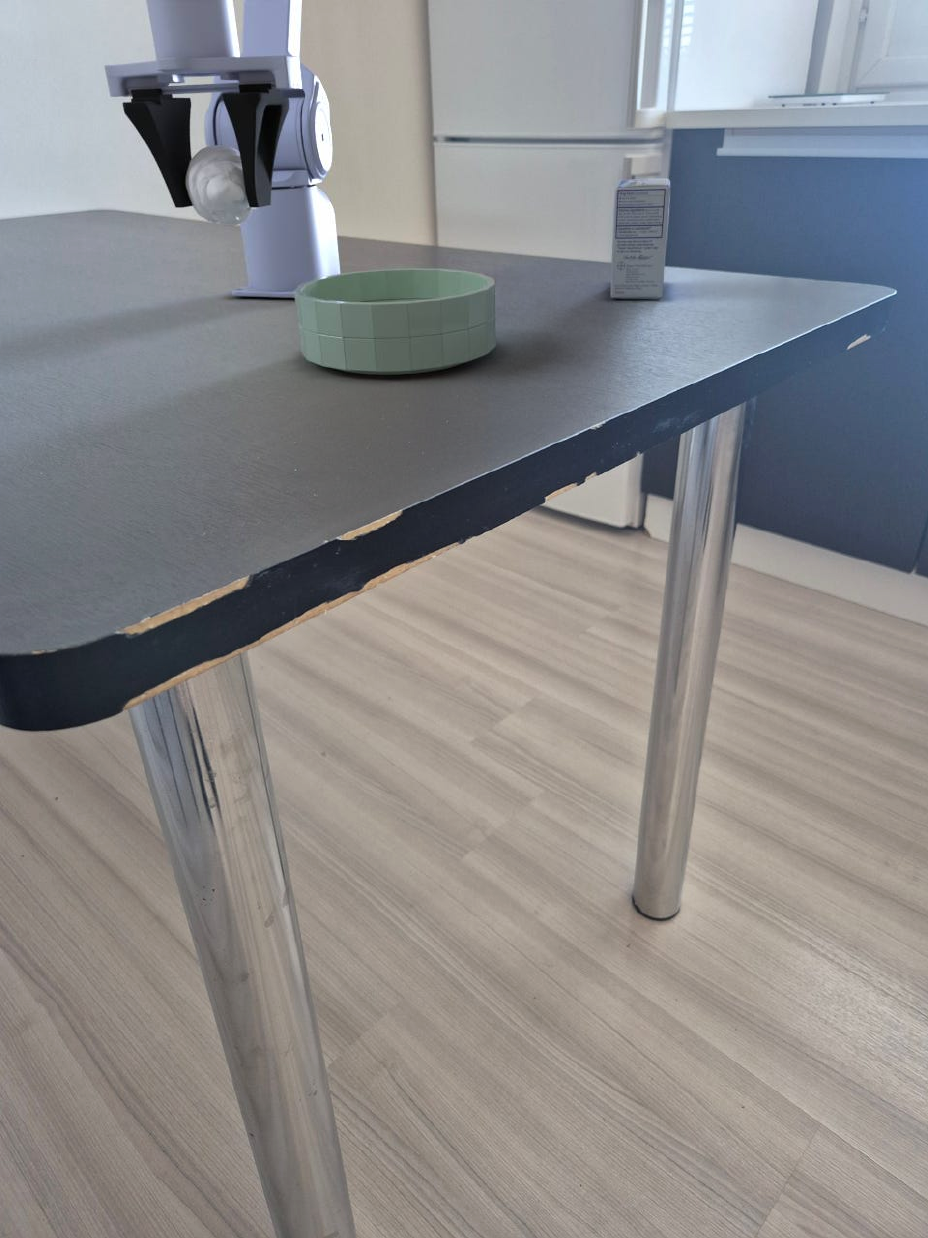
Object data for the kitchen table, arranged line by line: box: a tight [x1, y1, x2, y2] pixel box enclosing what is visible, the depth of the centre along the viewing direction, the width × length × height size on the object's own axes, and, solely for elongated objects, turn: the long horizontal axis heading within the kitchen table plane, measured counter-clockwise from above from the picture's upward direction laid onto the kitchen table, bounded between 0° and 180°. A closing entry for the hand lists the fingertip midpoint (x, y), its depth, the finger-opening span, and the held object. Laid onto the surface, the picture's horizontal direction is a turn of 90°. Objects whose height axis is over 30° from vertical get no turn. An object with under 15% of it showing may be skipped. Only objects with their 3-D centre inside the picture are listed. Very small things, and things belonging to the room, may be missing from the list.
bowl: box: [294, 267, 497, 376], centre depth 56 cm, size 13×13×4 cm
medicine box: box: [610, 177, 671, 300], centre depth 72 cm, size 8×4×9 cm, turn 168°
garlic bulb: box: [185, 145, 257, 227], centre depth 63 cm, size 6×6×5 cm
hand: (222, 206), depth 64 cm, fingers closed on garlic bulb, 6 cm apart
